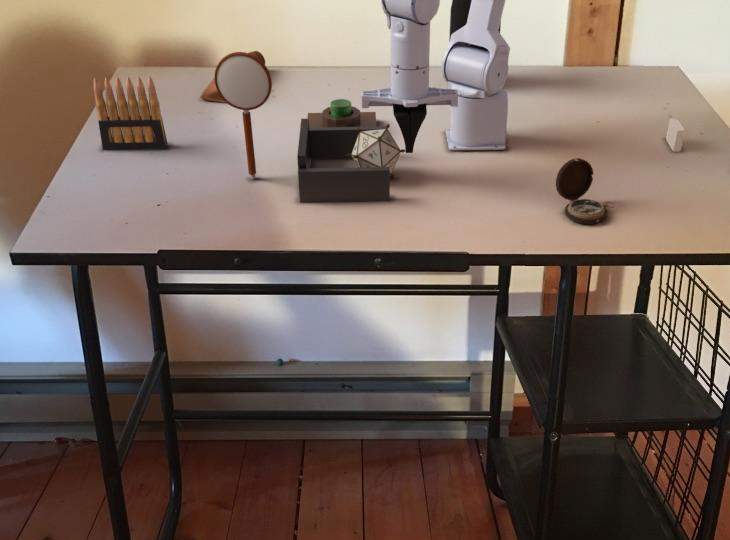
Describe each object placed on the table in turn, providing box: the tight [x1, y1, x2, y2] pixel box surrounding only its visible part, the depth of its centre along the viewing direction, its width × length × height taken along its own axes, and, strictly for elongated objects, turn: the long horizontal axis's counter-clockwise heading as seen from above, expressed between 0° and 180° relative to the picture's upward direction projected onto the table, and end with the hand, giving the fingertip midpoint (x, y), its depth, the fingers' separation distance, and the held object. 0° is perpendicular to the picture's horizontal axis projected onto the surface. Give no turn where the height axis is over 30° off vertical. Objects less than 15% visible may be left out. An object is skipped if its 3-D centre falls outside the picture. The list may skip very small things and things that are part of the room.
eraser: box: [665, 118, 686, 153], centre depth 156 cm, size 1×5×4 cm, turn 1°
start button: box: [329, 98, 352, 117], centre depth 160 cm, size 4×4×2 cm
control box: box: [306, 105, 377, 128], centre depth 162 cm, size 12×9×4 cm
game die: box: [346, 123, 406, 179], centre depth 146 cm, size 9×8×10 cm
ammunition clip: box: [93, 76, 168, 151], centre depth 154 cm, size 11×2×12 cm, turn 91°
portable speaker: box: [448, 0, 502, 51], centre depth 174 cm, size 9×9×20 cm
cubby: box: [297, 118, 391, 203], centre depth 147 cm, size 14×16×7 cm
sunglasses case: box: [199, 50, 266, 104], centre depth 179 cm, size 18×7×7 cm
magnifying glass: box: [213, 51, 273, 180], centre depth 142 cm, size 9×2×20 cm, turn 83°
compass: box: [555, 157, 616, 225], centre depth 137 cm, size 8×8×7 cm
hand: (409, 150), depth 146 cm, fingers closed
